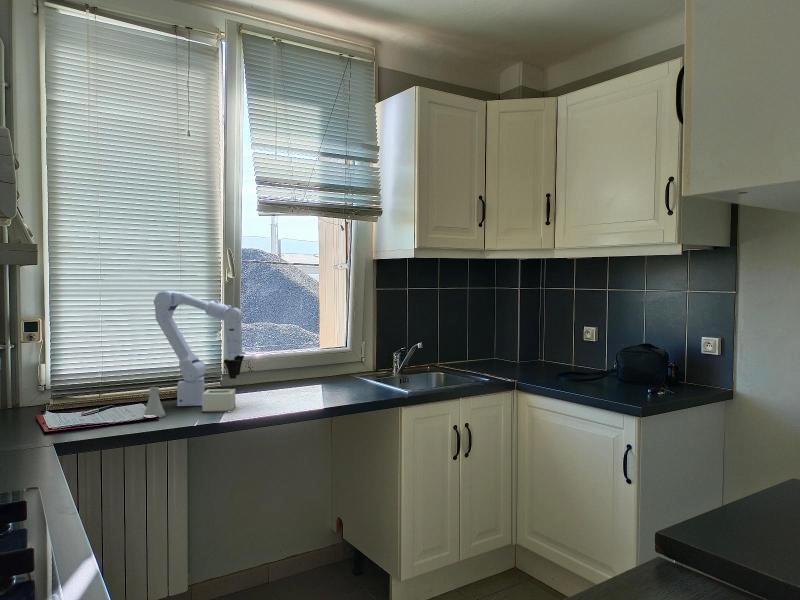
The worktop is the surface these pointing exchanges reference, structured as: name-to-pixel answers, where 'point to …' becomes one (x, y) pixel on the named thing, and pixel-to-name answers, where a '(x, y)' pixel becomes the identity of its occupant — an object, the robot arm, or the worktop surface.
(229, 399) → the box
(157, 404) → the flask
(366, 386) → the worktop surface
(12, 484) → the worktop surface
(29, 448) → the worktop surface
